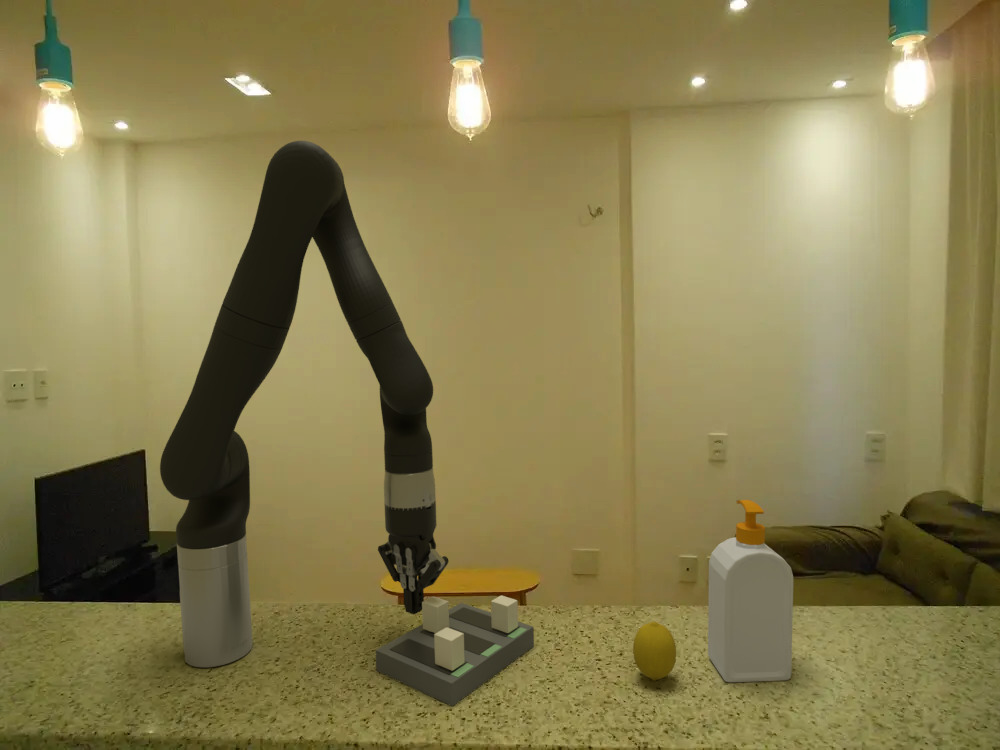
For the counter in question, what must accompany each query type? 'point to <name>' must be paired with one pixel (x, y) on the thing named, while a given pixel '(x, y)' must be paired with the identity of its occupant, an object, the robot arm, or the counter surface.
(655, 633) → the lemon
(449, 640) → the block
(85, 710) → the counter surface
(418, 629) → the breaker panel
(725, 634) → the soap bottle
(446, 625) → the block
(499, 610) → the block
